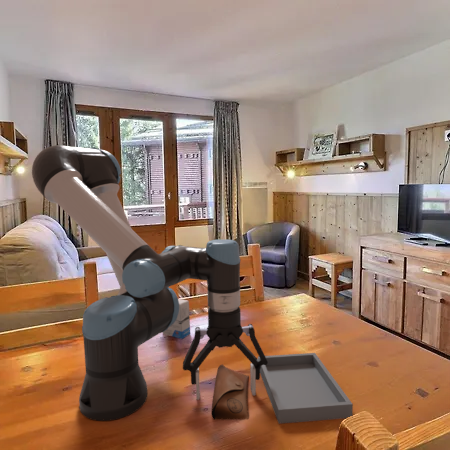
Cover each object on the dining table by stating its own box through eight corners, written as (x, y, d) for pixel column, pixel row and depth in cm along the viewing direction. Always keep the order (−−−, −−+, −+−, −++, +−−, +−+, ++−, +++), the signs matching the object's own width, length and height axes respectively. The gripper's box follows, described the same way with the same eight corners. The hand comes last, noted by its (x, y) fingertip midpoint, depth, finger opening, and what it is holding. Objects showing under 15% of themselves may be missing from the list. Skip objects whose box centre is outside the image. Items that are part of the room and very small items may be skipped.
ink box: (191, 334, 119) (190, 300, 117) (181, 339, 115) (180, 304, 113) (171, 328, 123) (170, 296, 122) (161, 334, 119) (160, 300, 118)
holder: (278, 423, 74) (278, 409, 74) (257, 367, 97) (257, 356, 97) (352, 417, 76) (352, 404, 75) (314, 363, 98) (315, 352, 98)
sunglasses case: (251, 420, 75) (235, 394, 75) (223, 435, 76) (206, 409, 76) (249, 374, 93) (236, 353, 93) (226, 387, 94) (213, 366, 93)
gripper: (169, 315, 77) (172, 407, 80) (280, 309, 80) (280, 399, 82) (171, 304, 85) (174, 388, 87) (272, 299, 87) (272, 381, 89)
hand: (225, 394), depth 85 cm, fingers open, 12 cm apart
